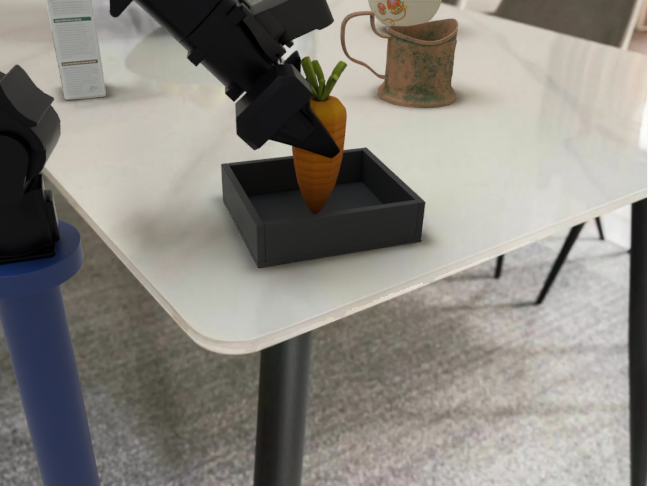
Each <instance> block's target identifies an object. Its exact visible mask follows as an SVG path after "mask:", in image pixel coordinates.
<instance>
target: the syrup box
mask: <svg viewBox="0 0 648 486" xmlns="http://www.w3.org/2000/svg"><path fill="white" fill-rule="evenodd" d="M45 2H46V9H47V14H48V20H49V26H50V31H51V37H52V42H53V49H54V53H55V58H56V64H57V69H58V74H59V79H60V80H59V81H60V85H61V90H62V94H63V98H64V100H65V101H66V100H67V101H68V100H87V99H96V98H103V97H106V96H107V90H106V83H105V76H104V69H103V61H102V55H101V49H100V43H99V35H98V29H97V23H96V18H95V12H94V6H93V0H45Z"/></svg>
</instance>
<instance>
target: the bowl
mask: <svg viewBox="0 0 648 486" xmlns="http://www.w3.org/2000/svg"><path fill="white" fill-rule="evenodd" d="M442 2H443V0H367V3H368V6H369V9H370V11H373V12H374V13H375V19H376V20H377V21H378V22H379V23H381V24H382V25H384V26H385V31H386V33H388V27H389V26H409V25H416V24H421V23H425V22H430V21H432V19H433V18H434V17H435V15H436V14H437V13H438V11H439V9H440V7H441V4H442Z"/></svg>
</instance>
